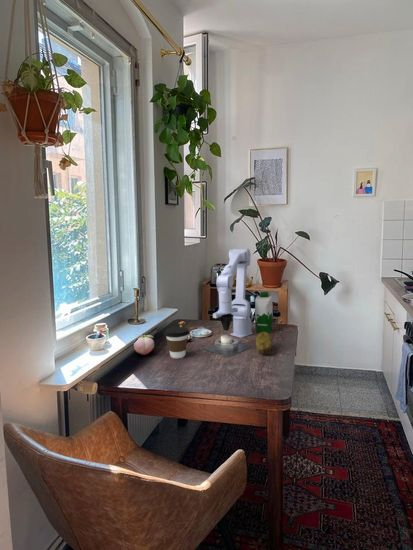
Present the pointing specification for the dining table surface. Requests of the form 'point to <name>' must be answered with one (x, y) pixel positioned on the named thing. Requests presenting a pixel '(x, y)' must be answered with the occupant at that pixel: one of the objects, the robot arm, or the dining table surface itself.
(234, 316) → the robot arm
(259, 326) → the milk carton
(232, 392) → the dining table surface
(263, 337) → the yellow oval piece
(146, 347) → the decorative fruit
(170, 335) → the coffee cup
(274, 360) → the dining table surface
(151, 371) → the dining table surface
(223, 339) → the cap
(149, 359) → the dining table surface
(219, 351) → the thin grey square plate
